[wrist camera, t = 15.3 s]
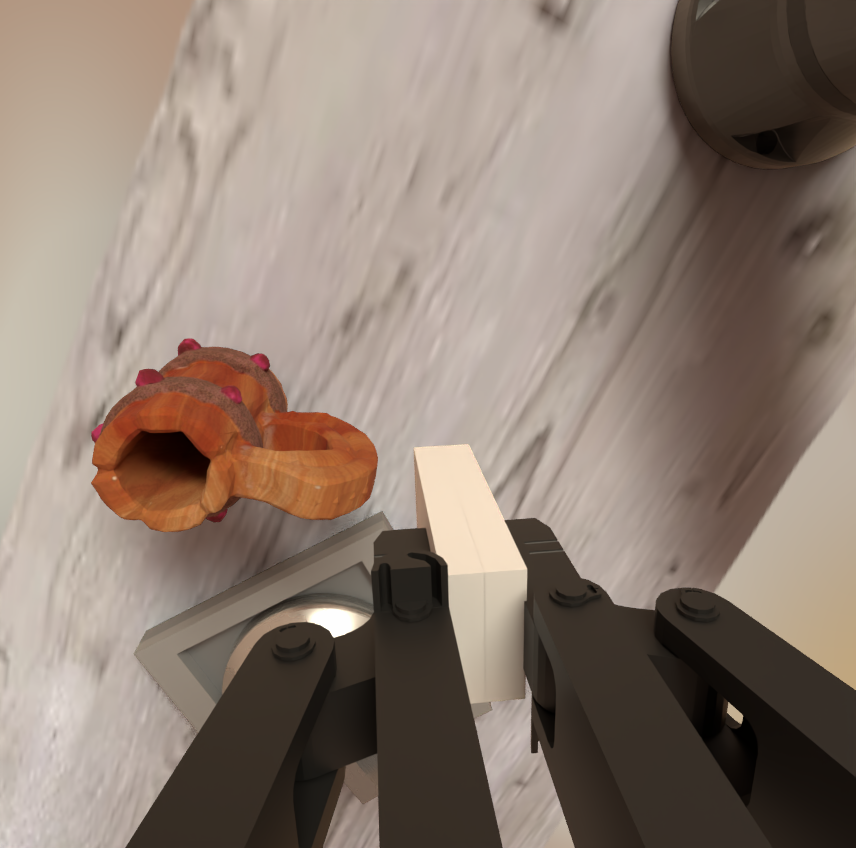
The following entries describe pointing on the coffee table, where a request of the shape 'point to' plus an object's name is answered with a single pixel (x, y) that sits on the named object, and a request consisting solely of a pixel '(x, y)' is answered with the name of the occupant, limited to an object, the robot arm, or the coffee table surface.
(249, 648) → the dial
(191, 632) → the board
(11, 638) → the coffee table surface
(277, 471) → the mug
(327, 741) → the robot arm
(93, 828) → the coffee table surface
